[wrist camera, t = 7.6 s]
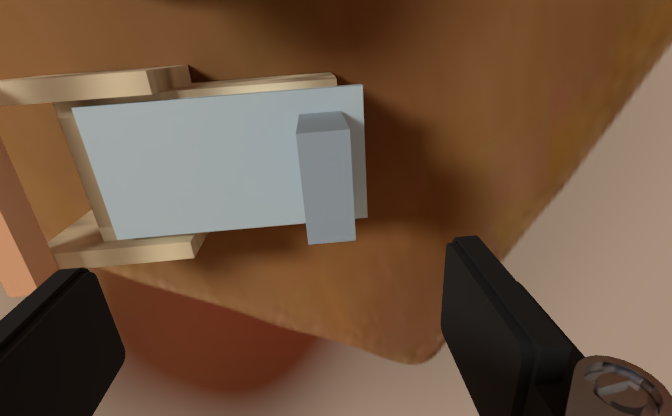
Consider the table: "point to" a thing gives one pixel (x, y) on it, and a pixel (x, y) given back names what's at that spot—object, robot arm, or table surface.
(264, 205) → the lid
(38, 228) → the rectangular bar
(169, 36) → the table surface
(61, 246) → the toolbox
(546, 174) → the table surface
